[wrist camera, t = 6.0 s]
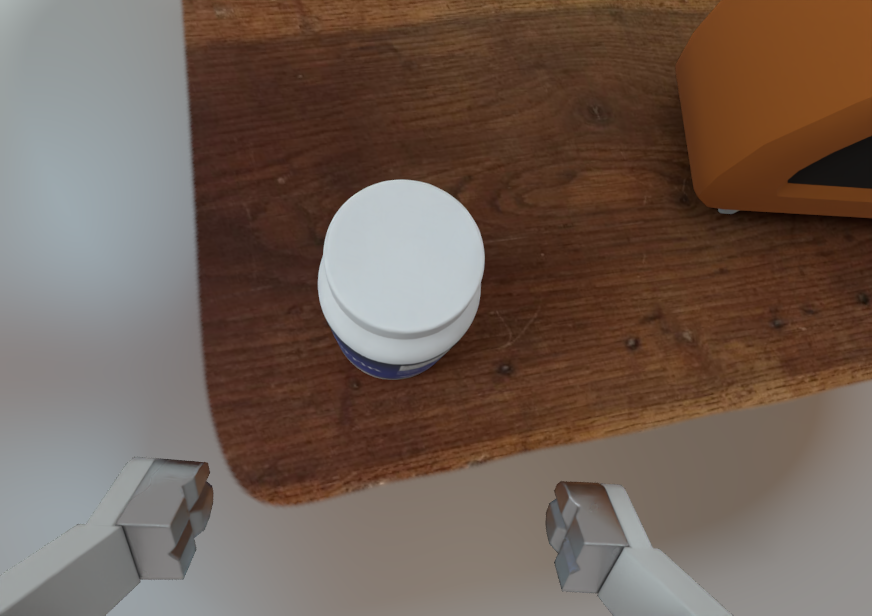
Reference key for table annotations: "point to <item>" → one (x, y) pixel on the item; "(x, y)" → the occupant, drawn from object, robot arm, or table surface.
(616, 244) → the table surface
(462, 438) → the table surface
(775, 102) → the alarm clock
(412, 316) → the pill bottle
